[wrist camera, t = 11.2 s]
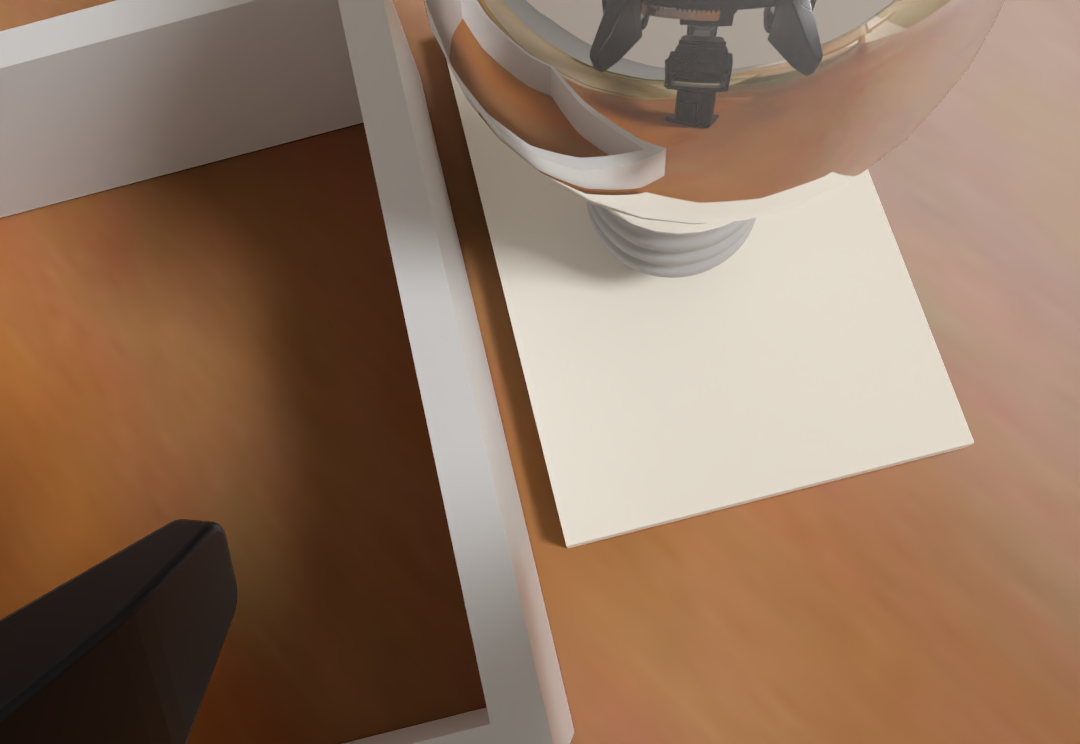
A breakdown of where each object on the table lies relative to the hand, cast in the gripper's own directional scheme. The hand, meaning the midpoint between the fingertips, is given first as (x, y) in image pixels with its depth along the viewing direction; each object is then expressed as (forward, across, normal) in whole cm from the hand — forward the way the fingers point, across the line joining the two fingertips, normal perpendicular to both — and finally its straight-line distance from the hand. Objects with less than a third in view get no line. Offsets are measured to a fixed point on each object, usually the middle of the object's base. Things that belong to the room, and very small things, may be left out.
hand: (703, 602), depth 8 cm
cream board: (+12, 0, +1) cm, 12 cm away
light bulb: (+12, 0, +1) cm, 12 cm away
